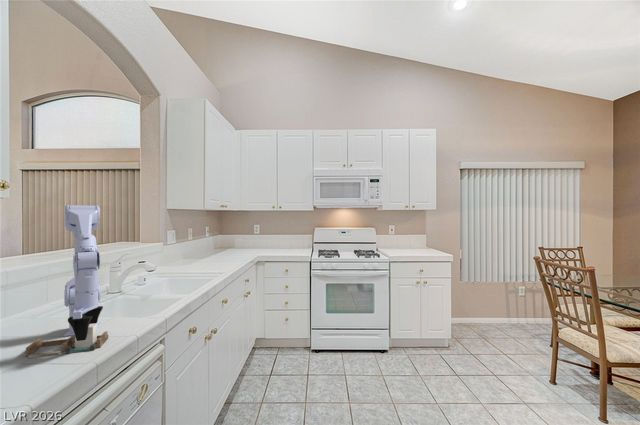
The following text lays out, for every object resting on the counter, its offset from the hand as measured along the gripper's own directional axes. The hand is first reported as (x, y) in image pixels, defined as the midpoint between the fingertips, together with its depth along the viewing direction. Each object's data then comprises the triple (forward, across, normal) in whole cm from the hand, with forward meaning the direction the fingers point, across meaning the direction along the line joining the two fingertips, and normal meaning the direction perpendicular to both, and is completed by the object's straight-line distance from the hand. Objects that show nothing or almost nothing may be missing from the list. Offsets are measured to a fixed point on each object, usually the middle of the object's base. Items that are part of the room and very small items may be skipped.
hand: (86, 335), depth 95 cm
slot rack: (+3, 0, -4) cm, 5 cm away
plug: (+3, 0, 0) cm, 3 cm away
